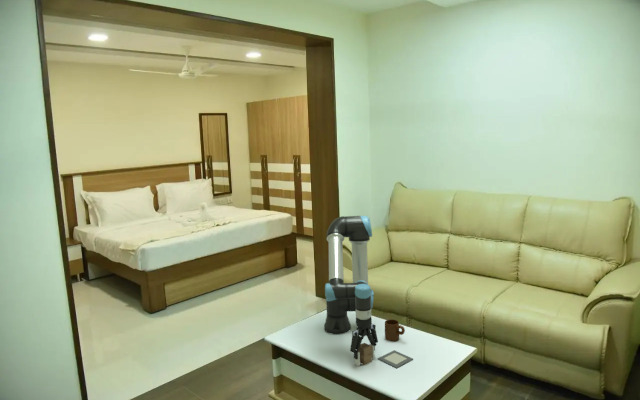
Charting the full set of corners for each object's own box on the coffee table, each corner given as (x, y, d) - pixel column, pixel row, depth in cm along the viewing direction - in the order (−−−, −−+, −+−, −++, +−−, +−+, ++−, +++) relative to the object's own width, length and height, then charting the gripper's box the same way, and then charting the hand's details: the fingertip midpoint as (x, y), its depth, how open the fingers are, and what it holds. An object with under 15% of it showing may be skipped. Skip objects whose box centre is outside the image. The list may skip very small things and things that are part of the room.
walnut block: (357, 361, 215) (357, 345, 214) (364, 357, 218) (364, 342, 217) (364, 365, 211) (364, 349, 210) (372, 361, 214) (371, 346, 213)
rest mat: (377, 359, 216) (377, 358, 216) (394, 351, 223) (394, 350, 223) (396, 368, 207) (396, 367, 207) (413, 359, 214) (413, 358, 214)
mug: (408, 340, 234) (408, 324, 233) (400, 345, 229) (399, 328, 228) (390, 334, 243) (390, 317, 241) (382, 338, 238) (381, 322, 236)
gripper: (352, 325, 202) (353, 372, 205) (385, 312, 215) (385, 356, 218) (341, 321, 207) (342, 366, 210) (373, 308, 221) (374, 351, 224)
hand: (364, 361), depth 214 cm, fingers open, 9 cm apart
